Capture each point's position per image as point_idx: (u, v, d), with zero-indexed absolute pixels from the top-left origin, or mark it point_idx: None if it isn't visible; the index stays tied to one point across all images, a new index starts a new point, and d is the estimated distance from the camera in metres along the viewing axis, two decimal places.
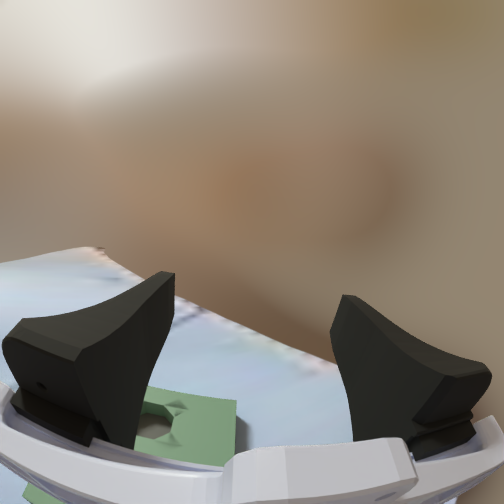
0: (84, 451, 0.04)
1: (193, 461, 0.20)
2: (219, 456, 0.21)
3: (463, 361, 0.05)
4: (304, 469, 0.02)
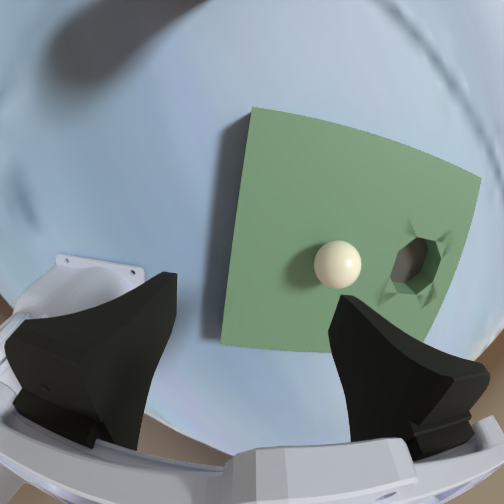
0: (87, 452, 0.04)
1: None
2: None
3: (461, 361, 0.05)
4: (304, 469, 0.02)
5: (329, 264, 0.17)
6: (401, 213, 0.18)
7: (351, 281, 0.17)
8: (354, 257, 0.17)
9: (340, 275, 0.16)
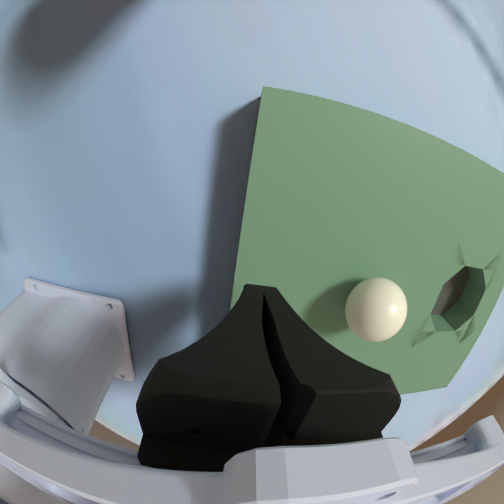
0: None
1: (385, 363, 0.16)
2: None
3: (361, 370, 0.05)
4: (304, 469, 0.02)
5: (369, 315, 0.11)
6: (452, 237, 0.13)
7: (394, 333, 0.11)
8: (401, 304, 0.11)
9: (382, 329, 0.11)
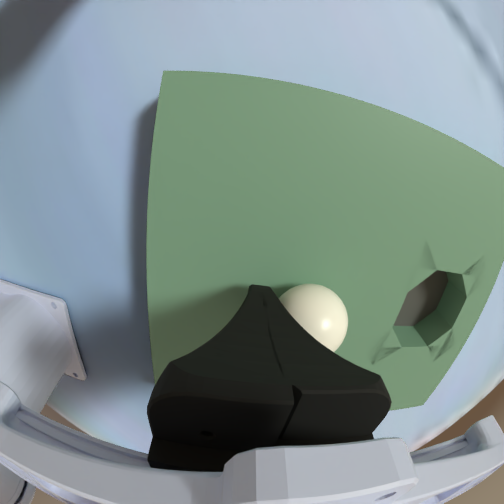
0: None
1: None
2: None
3: (350, 370, 0.05)
4: (304, 469, 0.02)
5: None
6: (416, 235, 0.11)
7: None
8: (336, 318, 0.10)
9: None
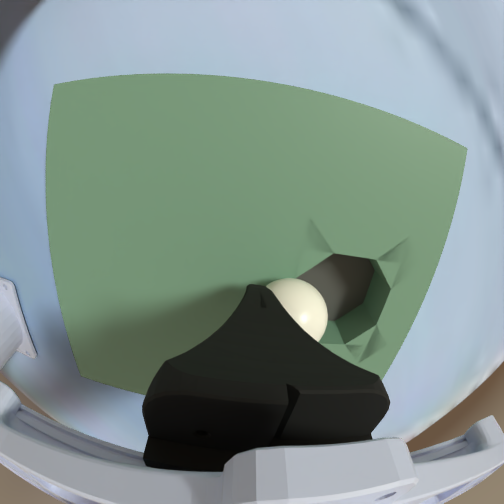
0: None
1: None
2: None
3: (349, 370, 0.05)
4: (304, 469, 0.02)
5: None
6: (293, 211, 0.11)
7: None
8: (274, 281, 0.12)
9: None
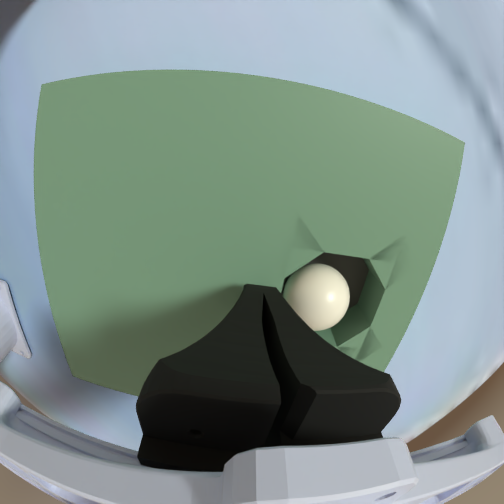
0: None
1: None
2: None
3: (361, 370, 0.05)
4: (304, 469, 0.02)
5: None
6: (281, 208, 0.11)
7: None
8: (295, 274, 0.13)
9: None
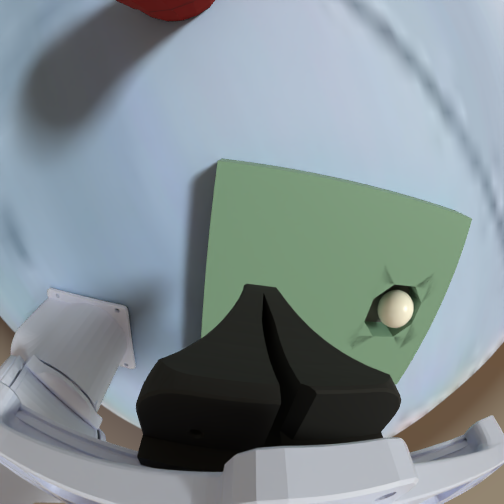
0: None
1: None
2: None
3: (361, 369, 0.05)
4: (304, 469, 0.02)
5: (381, 298, 0.21)
6: (377, 263, 0.18)
7: (385, 318, 0.20)
8: (393, 302, 0.20)
9: (379, 307, 0.21)
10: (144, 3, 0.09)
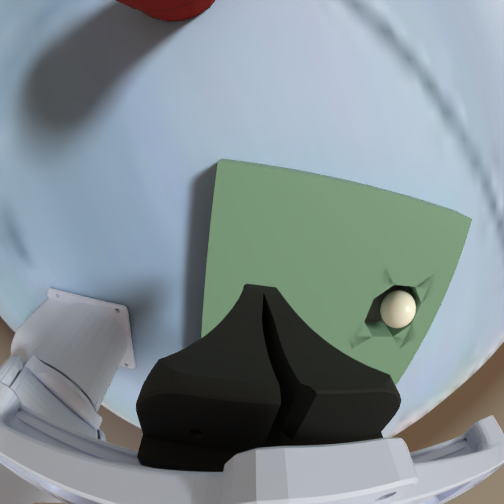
0: None
1: None
2: None
3: (361, 370, 0.05)
4: (304, 469, 0.02)
5: (383, 300, 0.21)
6: (377, 263, 0.18)
7: (390, 320, 0.20)
8: (398, 303, 0.19)
9: (384, 310, 0.20)
10: (144, 3, 0.09)
